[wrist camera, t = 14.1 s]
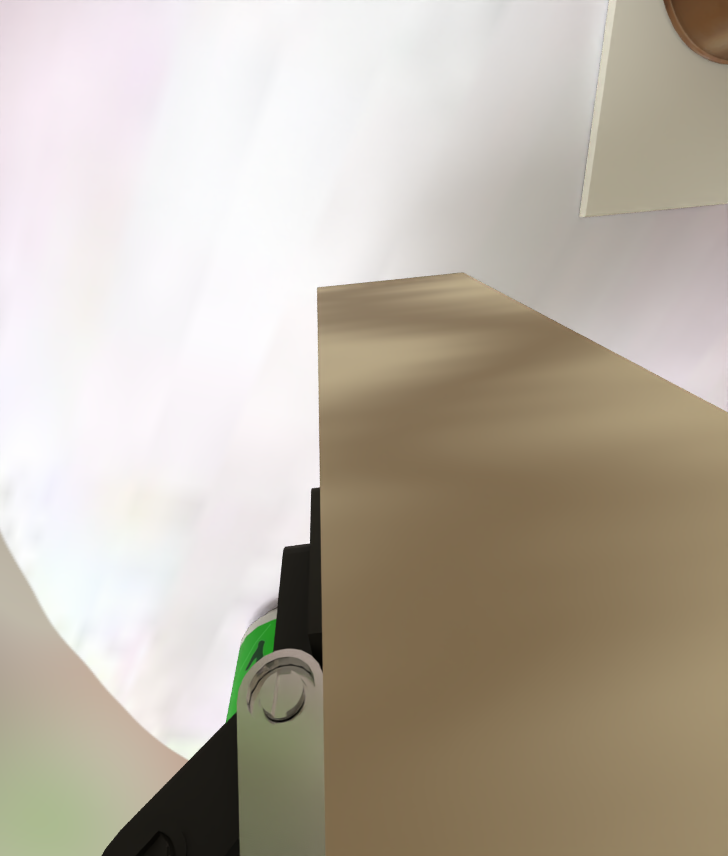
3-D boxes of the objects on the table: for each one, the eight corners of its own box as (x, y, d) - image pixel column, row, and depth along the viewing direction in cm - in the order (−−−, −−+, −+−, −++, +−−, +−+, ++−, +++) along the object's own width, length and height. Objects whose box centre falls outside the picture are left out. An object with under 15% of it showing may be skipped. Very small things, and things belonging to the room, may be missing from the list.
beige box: (462, 272, 12) (1885, 1024, 1) (454, 541, 16) (695, 1147, 6) (317, 287, 11) (330, 1374, 1) (352, 555, 16) (417, 1207, 6)
